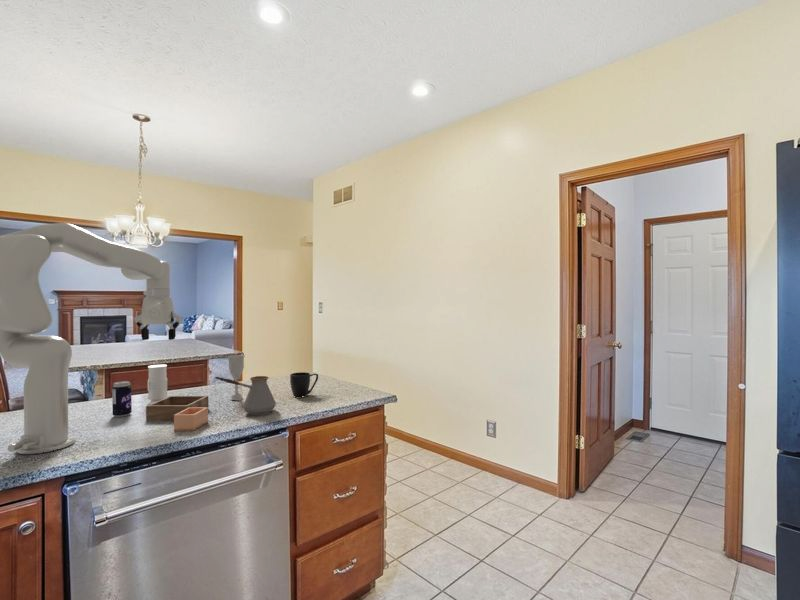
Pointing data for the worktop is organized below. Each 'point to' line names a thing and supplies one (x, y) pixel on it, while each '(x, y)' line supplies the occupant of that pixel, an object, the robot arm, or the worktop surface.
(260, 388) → the coffee pot
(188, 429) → the terracotta crate
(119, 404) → the beverage can
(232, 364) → the chalice
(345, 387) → the worktop surface
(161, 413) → the walnut crate
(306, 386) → the mug
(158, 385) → the candle
